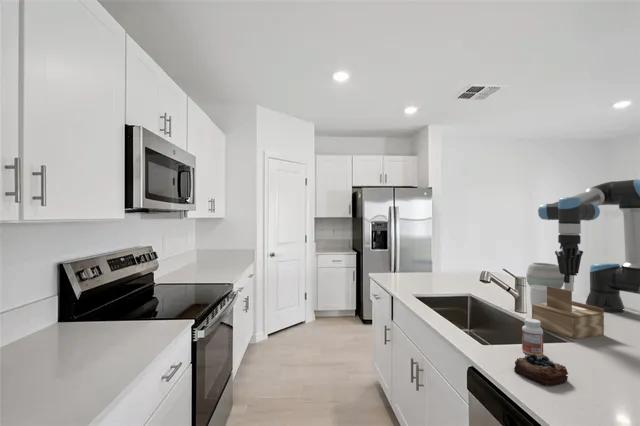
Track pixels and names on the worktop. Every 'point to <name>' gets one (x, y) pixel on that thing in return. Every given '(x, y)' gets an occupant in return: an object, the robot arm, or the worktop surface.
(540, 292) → the mug
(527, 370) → the pastry
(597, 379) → the worktop surface
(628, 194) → the robot arm
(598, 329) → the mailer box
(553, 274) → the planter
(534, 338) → the pill bottle
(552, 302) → the lid
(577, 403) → the worktop surface
